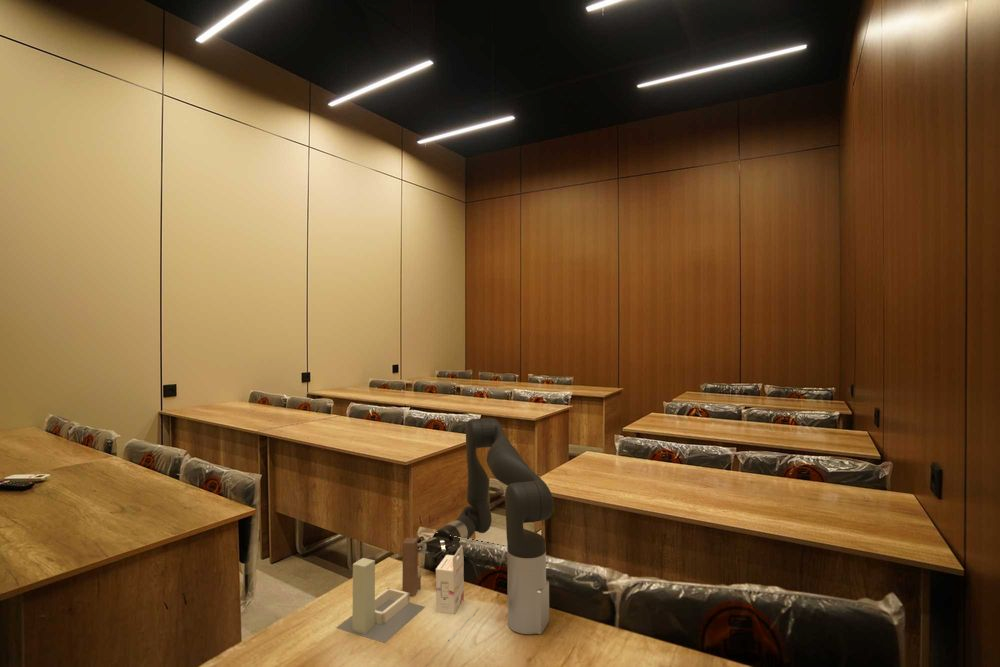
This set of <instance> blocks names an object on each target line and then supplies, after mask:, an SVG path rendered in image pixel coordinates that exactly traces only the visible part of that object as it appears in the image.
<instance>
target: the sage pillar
mask: <svg viewBox="0 0 1000 667" xmlns="http://www.w3.org/2000/svg"><path fill="white" fill-rule="evenodd" d="M375 589H376V560H375V559H370V558H366V557H362V558H360V559H359V560H357V561H356V562H354V563H352V616H353V631H356V632H359V633H363V634H365V633H367V632H368V631H369V630H370V629H372V628H373V627H374V626H375V597H376V593H375V592H376V590H375Z"/></svg>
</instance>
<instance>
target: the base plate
mask: <svg viewBox="0 0 1000 667" xmlns="http://www.w3.org/2000/svg"><path fill="white" fill-rule="evenodd" d="M410 600H411V599H410V593H408V592H404V591H402V590H399V589H394V588H390V587H387V588H386V589H384V590H383V591H381V592H380V593H379V594H378V595H375V626H374V627H373V628H372V629H370V630H369V631H368V632H367V633H365V634H363V633H359V632H356V631H353V615H351V616H350V617H348V618H347V619H345V620H344V621H343V622H342V623H340V624H338V626H336V627H335V629H338V630H342V631H344V632H347V633H351V634H354V635H357V636H361V637H363V638H366V639H370V640H374V641H377V642H379V643H383V644H386V643H387V642H388V641H389V640H390V639H392V638H393V637H394V635H396V634H397V633H398V632H399V631H401V630H402V629H403V628H404V626H405V627H406V625H407V624H408V623H410V621H411V620H413V619H414V618H415V617H416V616H417V615H418V614H419V613H420V612H422V611H423V610H424V609H425V608H426V606H424V605H420V604H418V603H413V602H410Z"/></svg>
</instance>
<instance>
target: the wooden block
mask: <svg viewBox="0 0 1000 667" xmlns="http://www.w3.org/2000/svg"><path fill="white" fill-rule="evenodd" d="M417 538H418V537H406V538H405V539H403V542H402V578H401V579H402V590H401V591H404V592H408V593H410V597H412V598H414V597H415V596H416V595H417V594H418V591H420V590H421V587H422V585H421V584H422V580H421V578H422V576H421V574H419V572H418V571H419V569H418V568H419V567H418V566H419V564H418V563H419V562H418V561H419V560H418V556H419V553H418V550H419V549H418V539H417Z"/></svg>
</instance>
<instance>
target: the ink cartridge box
mask: <svg viewBox="0 0 1000 667" xmlns="http://www.w3.org/2000/svg"><path fill="white" fill-rule="evenodd" d="M463 549H464V548H463V544H462V545H461V546H460V548H459V549H458V551H457V552H456V554H455V555H446V556H445V557H444V559H443V560H442V561H440V562H439V563H438V565H437V567H436V568H435V595H436V596H435V598H436V599H435V601H436V602H435V605H436V607H435V608H436V613H439V614H447V615H455V614H456V612H457V610H458V609H459V607H460V605H461V602H462V601H464V598H465V593H464V590H465V584H464V582H465V581H464V580H465V578H464V577H465V573H464V572H465V571H464V565H465V561H464V559H465V558H464V550H463Z"/></svg>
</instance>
